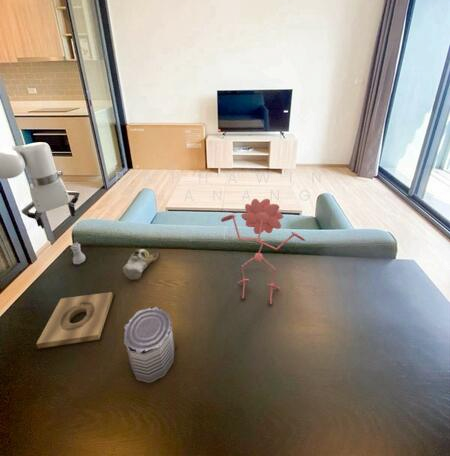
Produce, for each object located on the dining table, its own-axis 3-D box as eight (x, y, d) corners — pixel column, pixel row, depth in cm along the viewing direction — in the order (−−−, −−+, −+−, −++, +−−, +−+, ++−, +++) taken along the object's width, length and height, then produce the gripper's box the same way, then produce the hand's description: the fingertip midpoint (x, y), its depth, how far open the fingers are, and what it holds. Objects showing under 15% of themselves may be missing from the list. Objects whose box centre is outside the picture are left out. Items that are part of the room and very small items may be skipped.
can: (129, 345, 68) (122, 315, 63) (170, 328, 72) (166, 298, 68) (132, 393, 58) (125, 360, 54) (179, 369, 62) (175, 338, 58)
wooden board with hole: (38, 348, 67) (36, 343, 67) (62, 302, 80) (60, 298, 80) (99, 339, 69) (97, 334, 69) (113, 296, 82) (112, 291, 82)
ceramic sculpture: (112, 262, 85) (136, 236, 99) (115, 282, 87) (138, 254, 101) (139, 267, 83) (160, 240, 97) (141, 287, 85) (161, 258, 99)
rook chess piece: (78, 256, 100) (74, 240, 97) (88, 257, 99) (84, 241, 97) (70, 264, 96) (65, 248, 93) (80, 265, 95) (76, 249, 93)
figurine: (298, 312, 76) (310, 217, 64) (218, 296, 82) (215, 206, 69) (296, 273, 90) (306, 189, 78) (228, 262, 96) (227, 182, 83)
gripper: (70, 168, 91) (80, 207, 98) (11, 183, 80) (27, 227, 86) (76, 173, 87) (87, 214, 93) (14, 191, 75) (31, 236, 81)
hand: (58, 220), depth 89 cm, fingers open, 9 cm apart
